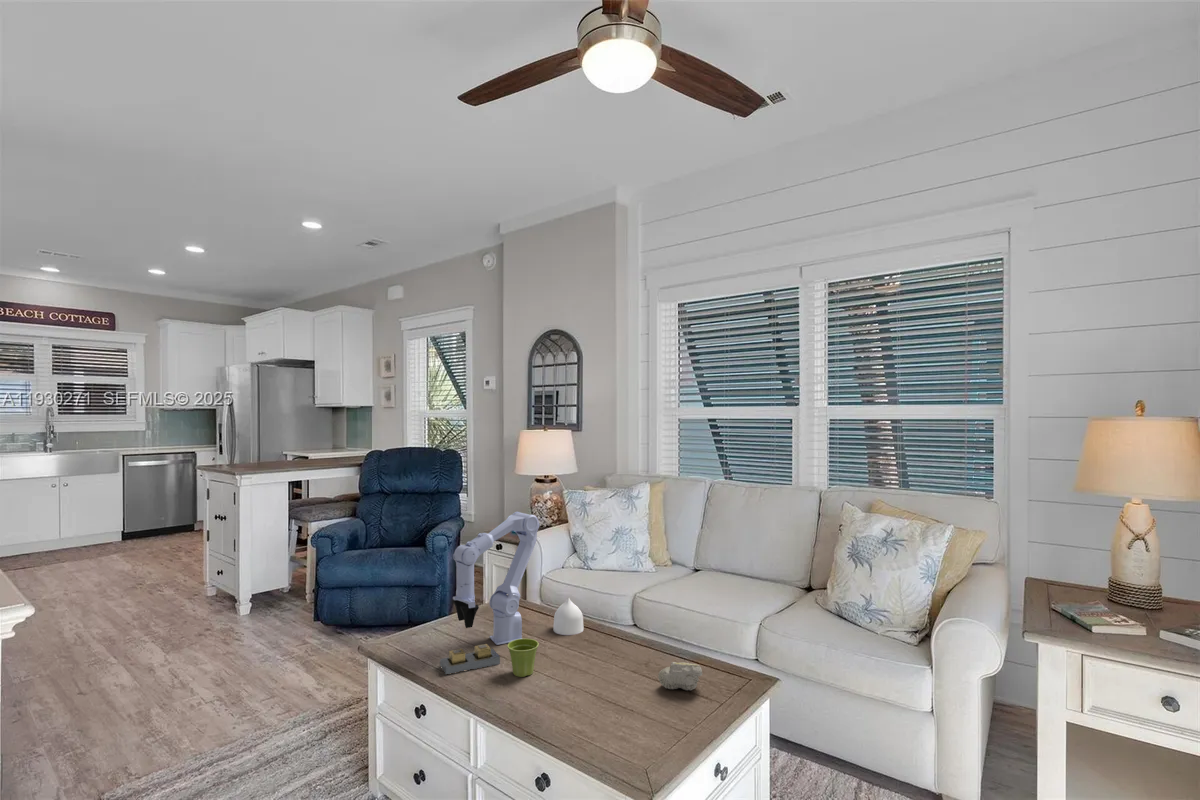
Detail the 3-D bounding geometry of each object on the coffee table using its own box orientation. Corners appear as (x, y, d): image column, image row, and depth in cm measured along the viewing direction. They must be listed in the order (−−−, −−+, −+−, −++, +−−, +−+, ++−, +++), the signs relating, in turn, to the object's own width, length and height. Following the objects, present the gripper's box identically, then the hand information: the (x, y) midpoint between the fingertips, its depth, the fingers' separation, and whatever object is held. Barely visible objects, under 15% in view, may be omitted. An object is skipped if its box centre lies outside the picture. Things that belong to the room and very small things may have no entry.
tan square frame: (486, 659, 193) (486, 643, 193) (490, 664, 189) (490, 647, 189) (474, 662, 191) (474, 645, 191) (478, 666, 187) (478, 649, 187)
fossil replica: (654, 683, 177) (667, 701, 167) (653, 656, 176) (666, 673, 166) (692, 675, 180) (707, 693, 170) (691, 648, 179) (706, 665, 169)
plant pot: (533, 681, 177) (533, 651, 177) (502, 678, 179) (503, 649, 179) (542, 667, 186) (542, 639, 186) (513, 665, 188) (513, 637, 188)
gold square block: (461, 664, 189) (461, 647, 189) (465, 669, 185) (465, 652, 185) (448, 667, 187) (449, 650, 187) (452, 672, 183) (452, 654, 183)
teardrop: (566, 637, 211) (566, 603, 211) (547, 629, 219) (547, 596, 219) (589, 630, 219) (589, 597, 219) (570, 622, 227) (570, 590, 227)
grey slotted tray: (492, 656, 195) (492, 648, 195) (499, 664, 189) (499, 656, 189) (440, 666, 187) (440, 659, 187) (445, 675, 181) (446, 667, 181)
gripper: (447, 578, 203) (447, 619, 203) (459, 589, 190) (459, 633, 190) (467, 575, 206) (467, 615, 206) (481, 586, 194) (481, 628, 194)
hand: (465, 623), depth 199 cm, fingers open, 7 cm apart
